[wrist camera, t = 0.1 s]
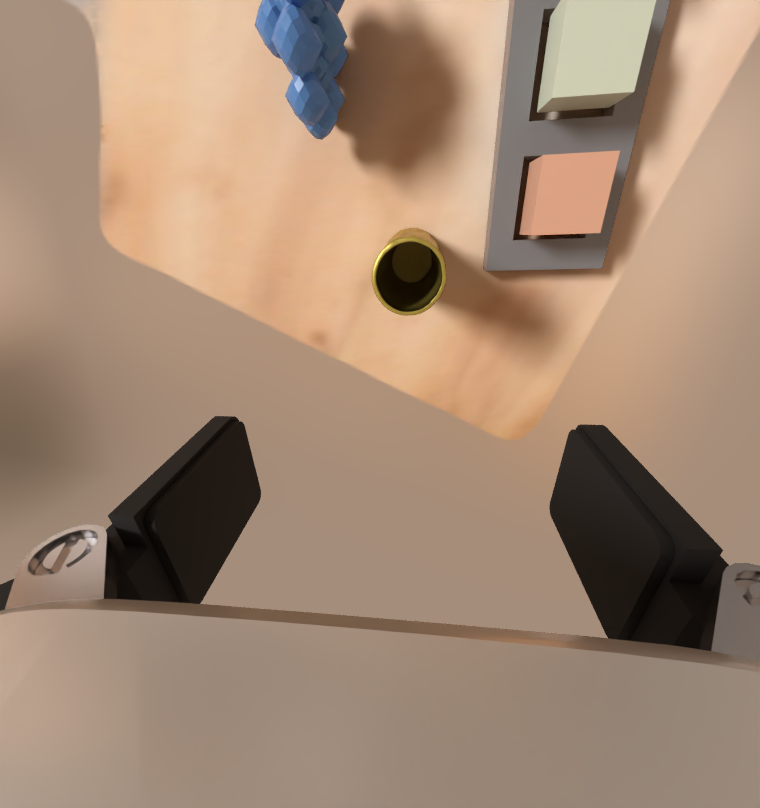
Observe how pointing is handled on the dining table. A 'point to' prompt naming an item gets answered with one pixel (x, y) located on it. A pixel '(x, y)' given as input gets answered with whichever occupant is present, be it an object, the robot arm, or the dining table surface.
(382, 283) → the vase
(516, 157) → the keypad board
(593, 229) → the key terracotta
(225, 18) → the dining table surface
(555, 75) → the key sage
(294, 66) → the blue flower rosette
